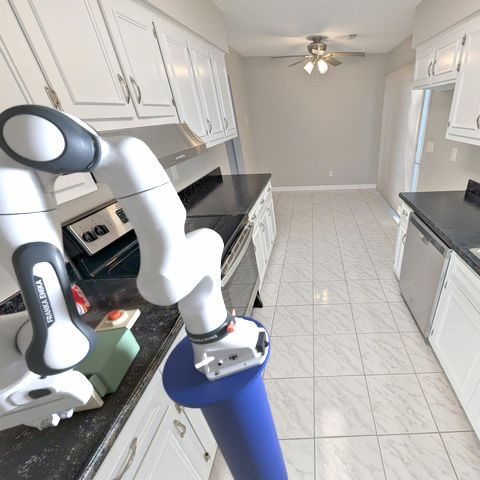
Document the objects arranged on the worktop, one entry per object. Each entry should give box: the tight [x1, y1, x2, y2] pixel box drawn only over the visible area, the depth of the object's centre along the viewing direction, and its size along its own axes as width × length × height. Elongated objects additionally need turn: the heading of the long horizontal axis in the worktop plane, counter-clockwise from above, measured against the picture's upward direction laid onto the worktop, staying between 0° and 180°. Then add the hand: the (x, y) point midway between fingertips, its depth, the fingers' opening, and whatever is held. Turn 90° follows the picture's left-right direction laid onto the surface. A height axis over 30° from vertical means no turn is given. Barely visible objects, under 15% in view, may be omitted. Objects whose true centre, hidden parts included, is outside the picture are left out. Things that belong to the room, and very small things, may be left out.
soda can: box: [70, 282, 91, 316], centre depth 98 cm, size 7×7×12 cm
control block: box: [93, 308, 141, 333], centre depth 93 cm, size 11×9×4 cm
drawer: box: [57, 373, 108, 420], centre depth 67 cm, size 18×12×7 cm, turn 9°
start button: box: [106, 309, 121, 320], centre depth 91 cm, size 4×4×2 cm
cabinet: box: [72, 328, 141, 395], centre depth 74 cm, size 15×13×9 cm
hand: (51, 424), depth 58 cm, fingers closed
